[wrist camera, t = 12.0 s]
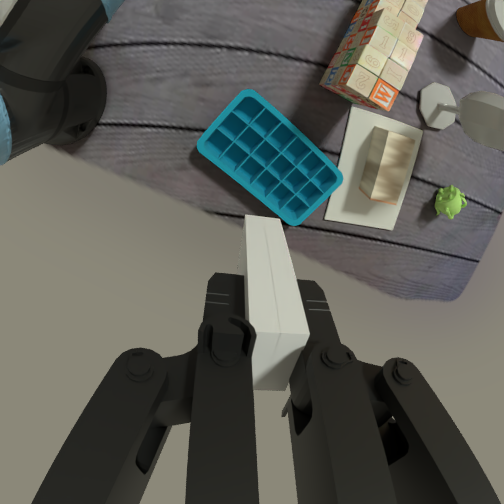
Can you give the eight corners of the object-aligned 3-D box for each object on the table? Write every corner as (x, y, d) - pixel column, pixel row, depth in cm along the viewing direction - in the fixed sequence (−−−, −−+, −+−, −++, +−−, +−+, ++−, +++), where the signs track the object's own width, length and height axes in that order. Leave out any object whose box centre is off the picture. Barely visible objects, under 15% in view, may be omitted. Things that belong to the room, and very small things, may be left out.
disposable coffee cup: (489, 41, 28) (531, 44, 18) (462, 47, 30) (507, 48, 20) (470, -1, 23) (511, -6, 13) (442, 1, 26) (484, -7, 15)
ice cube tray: (247, 85, 37) (247, 84, 34) (341, 173, 44) (347, 178, 41) (195, 143, 41) (192, 146, 38) (291, 221, 48) (294, 229, 46)
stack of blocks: (368, -14, 27) (405, -36, 16) (400, 7, 28) (443, -7, 18) (317, 85, 37) (345, 85, 26) (353, 104, 38) (389, 112, 28)
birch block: (370, 199, 41) (388, 131, 35) (358, 188, 45) (374, 125, 39) (396, 205, 41) (415, 140, 36) (383, 193, 46) (400, 134, 40)
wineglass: (456, 125, 39) (541, 161, 21) (421, 132, 40) (508, 171, 22) (449, 80, 34) (538, 97, 16) (412, 84, 35) (504, 98, 18)
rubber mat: (324, 218, 48) (324, 219, 48) (351, 106, 38) (351, 106, 38) (391, 229, 50) (392, 230, 49) (421, 130, 40) (423, 130, 39)
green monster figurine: (435, 215, 48) (451, 228, 43) (425, 196, 46) (442, 208, 41) (455, 196, 46) (472, 208, 41) (446, 176, 44) (464, 187, 39)
